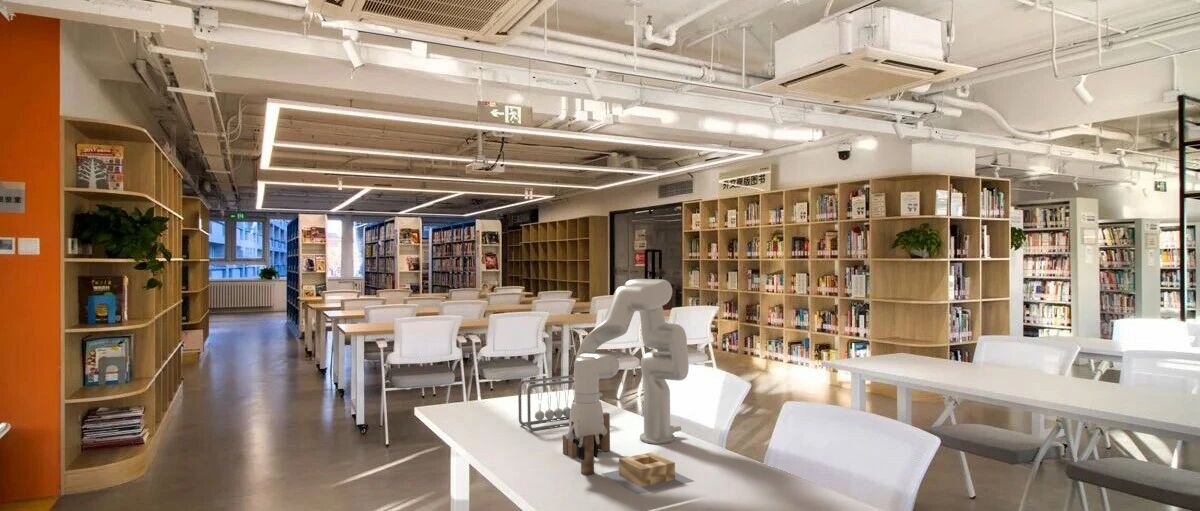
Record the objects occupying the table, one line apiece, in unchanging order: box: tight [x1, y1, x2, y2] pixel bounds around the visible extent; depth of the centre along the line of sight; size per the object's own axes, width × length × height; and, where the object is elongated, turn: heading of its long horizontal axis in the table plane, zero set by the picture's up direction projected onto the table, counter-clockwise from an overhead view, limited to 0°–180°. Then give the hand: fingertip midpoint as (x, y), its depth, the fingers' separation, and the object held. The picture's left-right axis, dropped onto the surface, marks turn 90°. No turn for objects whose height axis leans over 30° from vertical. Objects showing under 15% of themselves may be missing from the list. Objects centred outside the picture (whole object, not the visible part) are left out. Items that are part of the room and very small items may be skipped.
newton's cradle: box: [517, 374, 575, 431], centre depth 265 cm, size 30×10×18 cm, turn 119°
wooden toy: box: [562, 398, 611, 458], centre depth 226 cm, size 16×7×25 cm, turn 120°
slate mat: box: [601, 469, 694, 495], centre depth 199 cm, size 20×20×1 cm
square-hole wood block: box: [618, 452, 676, 487], centre depth 199 cm, size 12×12×5 cm
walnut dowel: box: [580, 435, 595, 476], centre depth 203 cm, size 4×4×16 cm
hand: (587, 457), depth 203 cm, fingers closed on walnut dowel, 4 cm apart
